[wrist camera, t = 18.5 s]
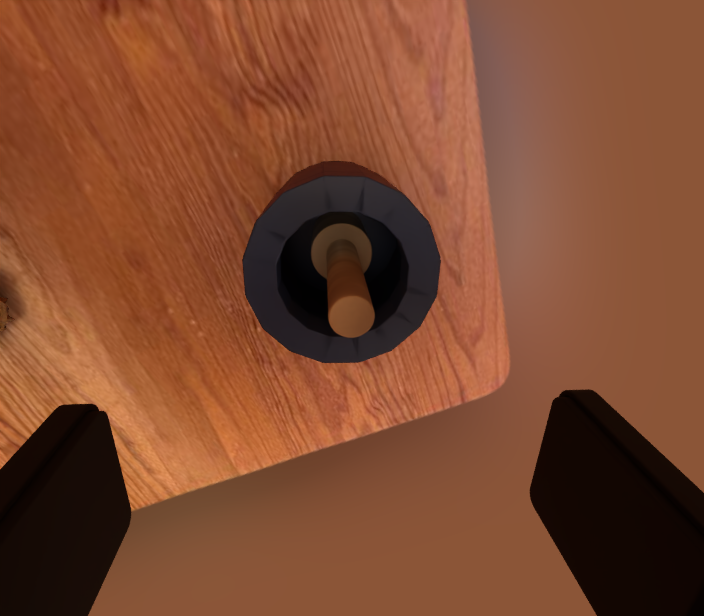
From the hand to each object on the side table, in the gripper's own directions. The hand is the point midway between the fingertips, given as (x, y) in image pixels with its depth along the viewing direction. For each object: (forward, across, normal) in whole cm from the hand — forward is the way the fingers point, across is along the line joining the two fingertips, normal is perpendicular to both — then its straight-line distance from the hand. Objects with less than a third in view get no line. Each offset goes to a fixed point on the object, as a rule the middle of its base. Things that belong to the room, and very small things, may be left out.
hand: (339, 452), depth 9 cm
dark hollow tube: (+22, -1, 0) cm, 22 cm away
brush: (+22, -1, 0) cm, 22 cm away
